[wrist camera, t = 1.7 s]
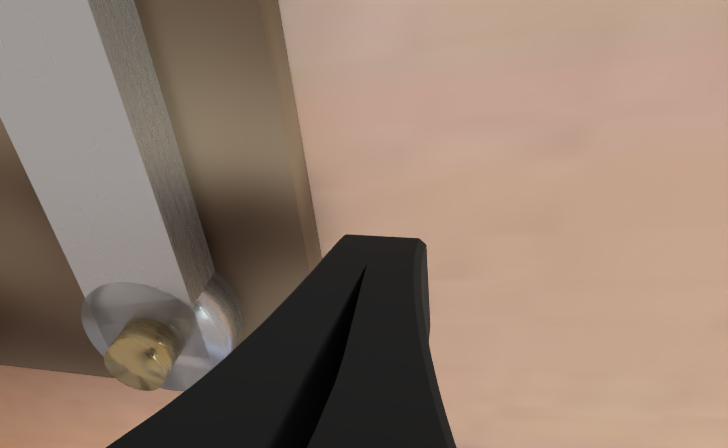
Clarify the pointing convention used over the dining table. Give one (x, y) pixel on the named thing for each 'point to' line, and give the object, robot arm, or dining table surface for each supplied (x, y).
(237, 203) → the walnut board
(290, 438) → the robot arm
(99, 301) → the steel link
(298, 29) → the dining table surface
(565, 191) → the dining table surface
